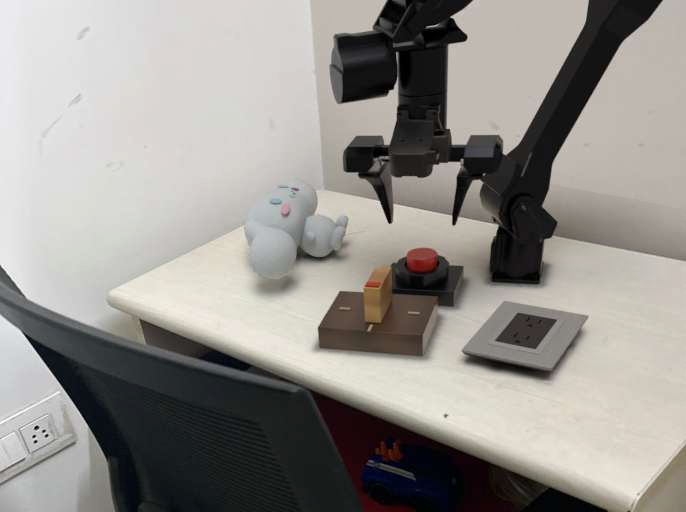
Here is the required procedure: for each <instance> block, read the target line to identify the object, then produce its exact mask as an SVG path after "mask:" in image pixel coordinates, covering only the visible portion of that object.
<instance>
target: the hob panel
mask: <svg viewBox="0 0 686 512" xmlns="http://www.w3.org/2000/svg"><path fill="white" fill-rule="evenodd" d="M438 318H439V306H438V296H421V295H403V294H392V302H391V304H390V306H389V308H388V310H387V312H386V314H385V316H384V318H383V320H382V322H381V323H373V322H365V310H364V291H352V290H351V291H350V290H340V291H338V294H337V295H336V296H335V298H334V300H333V302H332V303H331V304H330V306H329V308H328V310H327V311H326V313H325V315H324V316H323V318H322V319H321V321H320V323H319V324H318V326H317V334H318V345H319V349H324V350H335V351H346V352H347V351H349V352H360V353H361V352H362V353H374V354H385V355H397V356H399V355H400V356H411V357H423V356H424V354H425V351H426V349H427V346H428V344H429V342H430V338H431V336H432V334H433V331H434V328H435V325H436V323H437V320H438Z"/></svg>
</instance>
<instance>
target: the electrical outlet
mask: <svg viewBox="0 0 686 512" xmlns="http://www.w3.org/2000/svg"><path fill="white" fill-rule="evenodd" d="M588 319H589V315H587V314H582V313H576V312H570V311H565V310H559V309H554V308H549V307H542V306H537V305H532V304H531V305H530V304H525V303H520V302H514V301H508V300H503V301H502V302H501V303H500V305H499V306H498V307H497V308H496V309H495V310H494V312H493V313H492V314H491V315H490V316H489V317H488V319H487V320H486V321H485V322H484V323H483V324H482V325H481V326H480V327H479V329H478V330H477V332H475V334H474V335H473V336H472V337H471V338H470V339H469V341H467V343H466V344H465V345H464V346H463V347H462V349H461V353H463V354H464V355H466V356H470V357H474V358H480V359H485V360H489V361H494V362H499V363H503V364H508V365H513V366H518V367H522V368H527V369H532V370H536V371H540V372H545V373H551V372H553V369H554V368H555V367H556V365H557V364H558V362H559V361H560V359H561V358H562V357H563V355H564V354H565V353H566V351H567V349H568V348H569V346H570V345H571V344H572V342H573V341H574V339H575V338H576V336H577V335H578V333H579V332H580V330H581V329H582V327H583V326H584V325H585V324H586V322H587V320H588Z"/></svg>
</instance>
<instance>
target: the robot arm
mask: <svg viewBox="0 0 686 512" xmlns="http://www.w3.org/2000/svg"><path fill="white" fill-rule="evenodd" d="M473 1H474V0H386V1H385V3H384V5H383V7H382V9H381V11H380V12H379V14H378V16H377V18H376V20H375V22H374V23H373V25H372V30H367V31H361V32H353V33H350V32H340V33H334V34H333V36H332V37H333V38H332V39H333V47H332V50H331V56H330V64H329V77H330V78H329V79H330V84H331V90H332V94H333V97H334V101H335V102H336V104H337V105H342V104H343V105H344V104H349V103H354V102H356V103H357V102H361V101H368V100H374V99H380V98H386V97H387V96H389V94H390V91H394V90H395V86H396V84H397V106H396V120H395V125H394V128H393V131H392V136H391V139H390V142H389V144H385V139H384V137H383V135H355V137H353V139H352V140H351V141H350V142H349V143H348V145H347V146H346V147H345V148H344V150H343V153H342V169H343V170H342V171H343V172H344V173H348V174H350V173H354V174H355V173H357V176H358V178H359V180H366V181H367V182H368V183H369V184H370V186H371V187H372V189H373V190H374V193H375V194H376V196H377V198H378V200H379V203H380V206H381V208H382V211H383V213H384V216H385V218H386V222H387V223H388V225H392V224H393V222H394V208H395V207H394V193H393V192H394V191H393V178H392V177H394V178H396V179H397V178H399V179H400V178H403V177H417V178H418V179H425V178H428V177H430V176H431V175H432V173H433V170H434V166H439V165H440V164H448V163H460V164H459V165H460V168H459V170H458V173H457V175H456V177H455V178H456V182H455V183H456V186H455V192H454V199H453V204H452V205H453V207H452V213H451V225H452V226H453V227H454V226H456V225H457V222H458V219H459V216H460V214H461V211H462V207H463V205H464V202H465V200H466V196H467V193H468V191H469V189H470V187H471V185H472V183H473V182H474V181H480V182H481V183H482V185H481V187H480V189H479V195H478V196H479V198H480V204H481V206H482V208H483V209H484V211H486V212H487V213H488V214H489V215H490V218H491V220H492V222H493V223H495V224H496V225H498V226H497V229H496V232H495V235H494V236H493V237H492V240H491V243H490V252H489V253H490V255H489V270H488V271H489V272H490V273H491V276H490V281H491V282H492V283H493V282H494V283H508V284H509V283H511V284H528V285H529V284H533V285H539V284H540V283H541V280H542V275H543V270H544V263H545V262H544V254H545V253H544V252H545V244H546V240H549V239H552V237H553V236H554V234H555V231H556V229H557V226H558V224H559V222H558V221H557V220H556V218H554V217H553V216H552V215H551V214H550V213H549V212H548V211H547V210H546V209H545V208H544V207H543V205H544V203H545V200H546V198H547V196H548V194H549V191H550V186H551V178H552V172H553V171H552V170H553V166H554V165H553V164H554V162H555V160H556V158H557V156H558V154H559V153H560V151H561V149H562V147H563V145H564V144H565V142H566V141H567V139H568V138H569V135H570V134H571V132H572V130H573V129H574V127H575V125H576V123H577V121H578V120H579V118H580V117H581V114H582V113H583V111H584V109H585V108H586V106H587V104H588V102H589V100H590V99H591V98H592V95H593V94H594V92H595V90H596V89H597V87H598V85H599V83H600V82H601V80H602V78H603V76H604V74H605V73H606V71H607V70H608V67H609V66H610V64H611V63H612V61H613V59H614V57H615V56H616V54H617V52H618V50H619V49H620V47H621V45H623V43H624V42H625V40H626V39H627V38H629V37H630V36H631V35H633V34H634V33H635V32H636V31H637V30H638V29H639V28H640V27H642V26H643V25H644V24H646V23H647V22H648V21H649V19H651V17H652V16H653V15H654V13H655V12H656V11H657V10H658V8H659V6H660V5H661V4H662V3H663V1H664V0H588V2H587V8H586V9H587V11H586V18H585V22H584V25H583V27H582V29H581V31H580V33H579V34H578V35H577V38H576V39H575V42H574V43H573V45H572V47H571V49H570V51H569V53H568V55H567V56H566V58H565V60H564V62H563V63H562V65H561V67H560V69H559V71H558V73H557V74H556V76H555V78H554V80H553V82H552V83H551V86H550V87H549V89H548V91H547V93H546V95H545V97H544V98H543V100H542V102H541V104H540V105H539V107H538V109H537V111H536V112H535V115H534V116H533V118H532V119H531V122H530V123H529V125H528V126H527V127H528V128H527V129H526V131H525V133H524V134H523V137H522V138H521V140H520V142H519V143H518V144H517V145H516V146H515V147H514V148H513V149H511V150H510V151H509V152H507V153H506V154H504V140H503V138H502V136H501V135H500V134H470V136H469V138H468V140H467V142H466V144H453V138H452V133H451V129H450V128H448V88H449V87H448V86H449V85H448V84H449V82H448V81H449V45H453V44H459V43H465V42H466V41H468V38H469V37H468V34H467V33H466V32H464V31H463V30H462V29H461V28H460V27H459V25H458V24H457V22H456V20H455V18H453V17H454V15H456V14H458V13H460V12H461V11H463V10H465V9H466V8H467V7H468V6H469V5H470V4H471V3H472V2H473Z"/></svg>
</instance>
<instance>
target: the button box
mask: <svg viewBox="0 0 686 512" xmlns="http://www.w3.org/2000/svg"><path fill="white" fill-rule="evenodd" d="M389 267H392V294H403V295H421V296H438V307H448V308H454V306H455V304H456V302H457V298H458V296H459V293H460V290H461V287H462V284H463V282H464V271H465V269H464V268H465V266H464V265H453V264H450V262H449V261H448V259H447V258H446V257H445V256H443V255H439V254H437V267H436V268H435V269H433V270H429V271H424V272H420V271H412V270H409V269H408V268H407V255H405V256H403V257H401V258H398V260H397V261H396V262H391V264H390V266H389Z"/></svg>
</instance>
